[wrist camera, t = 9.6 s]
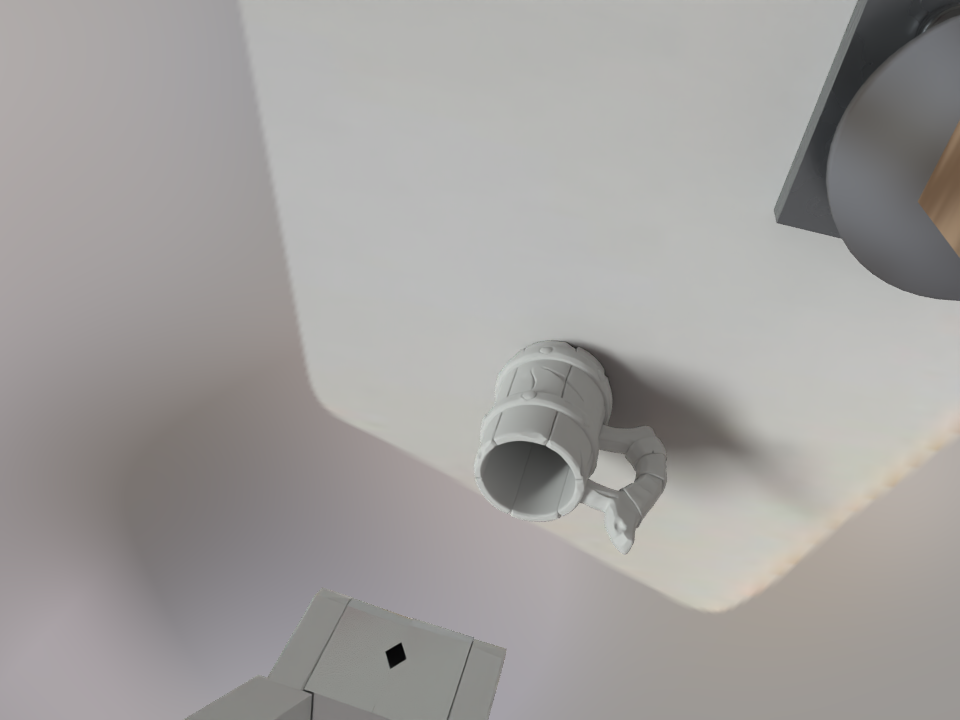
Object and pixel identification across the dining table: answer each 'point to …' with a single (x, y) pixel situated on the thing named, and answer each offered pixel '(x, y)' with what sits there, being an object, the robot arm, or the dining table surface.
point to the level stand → (849, 99)
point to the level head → (904, 167)
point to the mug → (563, 443)
